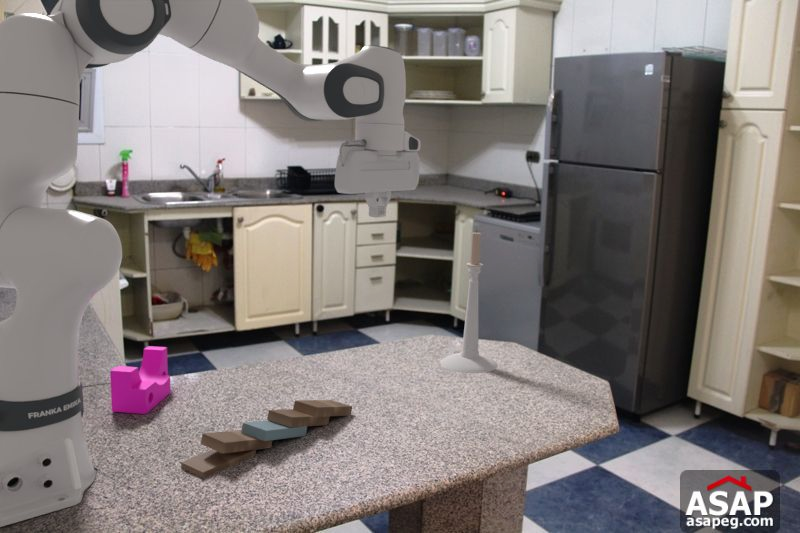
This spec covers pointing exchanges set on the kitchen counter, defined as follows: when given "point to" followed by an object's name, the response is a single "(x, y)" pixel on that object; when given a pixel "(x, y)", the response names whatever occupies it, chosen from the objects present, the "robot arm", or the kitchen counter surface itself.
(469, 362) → the candlestick
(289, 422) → the domino
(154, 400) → the toy block
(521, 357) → the kitchen counter surface
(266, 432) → the domino
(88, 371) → the kitchen counter surface
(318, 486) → the kitchen counter surface
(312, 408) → the domino
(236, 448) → the domino
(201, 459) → the domino
